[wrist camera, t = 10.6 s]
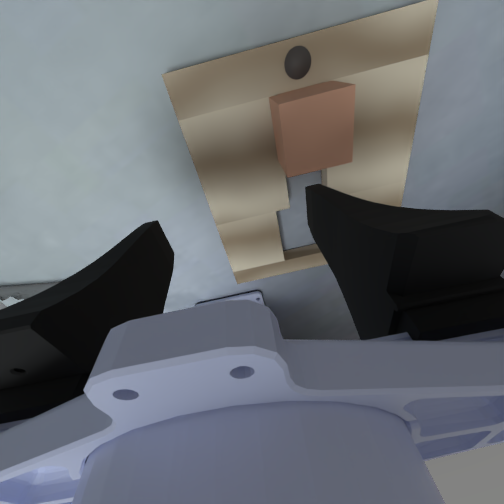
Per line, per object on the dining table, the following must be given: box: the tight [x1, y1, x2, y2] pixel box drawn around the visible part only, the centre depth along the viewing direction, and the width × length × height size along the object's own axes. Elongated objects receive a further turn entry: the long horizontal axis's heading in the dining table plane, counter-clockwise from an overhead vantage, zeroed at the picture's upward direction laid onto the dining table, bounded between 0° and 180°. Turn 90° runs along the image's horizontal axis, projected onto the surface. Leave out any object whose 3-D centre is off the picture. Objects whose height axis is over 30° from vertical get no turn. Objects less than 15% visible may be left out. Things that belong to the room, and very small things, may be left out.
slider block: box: [269, 81, 356, 178], centre depth 16 cm, size 4×4×5 cm
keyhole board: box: [162, 0, 438, 284], centre depth 20 cm, size 18×16×2 cm
